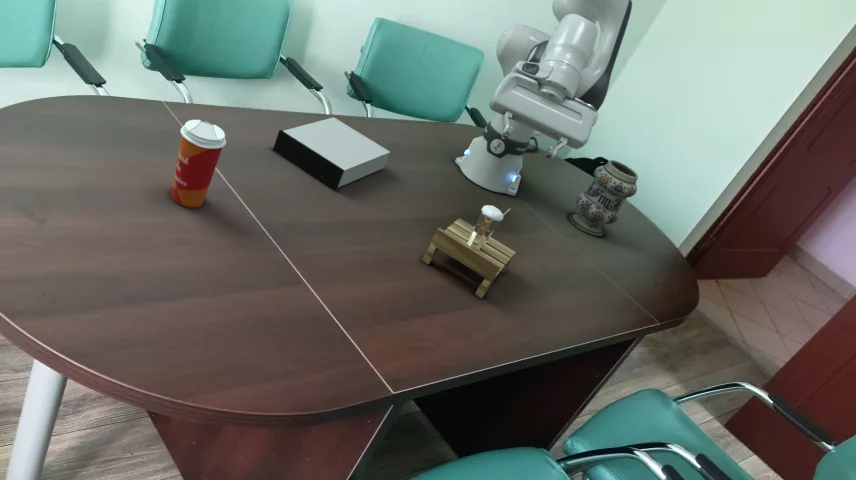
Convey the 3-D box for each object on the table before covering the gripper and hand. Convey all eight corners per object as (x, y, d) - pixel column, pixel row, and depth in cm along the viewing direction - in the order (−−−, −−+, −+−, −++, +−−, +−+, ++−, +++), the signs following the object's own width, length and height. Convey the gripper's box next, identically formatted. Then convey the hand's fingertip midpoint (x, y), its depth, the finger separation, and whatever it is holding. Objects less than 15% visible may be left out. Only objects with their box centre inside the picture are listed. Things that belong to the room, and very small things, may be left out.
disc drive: (272, 149, 149) (278, 129, 146) (326, 133, 167) (333, 115, 164) (334, 190, 144) (342, 170, 141) (383, 169, 162) (391, 151, 159)
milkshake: (490, 255, 135) (514, 214, 130) (467, 250, 133) (490, 208, 128) (484, 242, 139) (506, 202, 133) (461, 237, 137) (483, 196, 132)
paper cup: (169, 182, 123) (185, 113, 115) (210, 194, 125) (229, 127, 117) (162, 203, 117) (179, 132, 109) (206, 215, 119) (225, 146, 111)
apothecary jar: (614, 238, 181) (654, 182, 171) (587, 238, 174) (627, 180, 164) (584, 212, 188) (620, 157, 179) (557, 211, 181) (593, 153, 172)
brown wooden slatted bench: (450, 235, 147) (466, 205, 143) (505, 269, 144) (523, 239, 140) (420, 261, 133) (437, 229, 129) (480, 299, 130) (500, 267, 126)
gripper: (594, 116, 135) (569, 175, 132) (502, 73, 135) (475, 131, 132) (608, 102, 129) (582, 163, 126) (511, 57, 129) (483, 117, 126)
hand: (527, 146), depth 129 cm, fingers open, 8 cm apart
